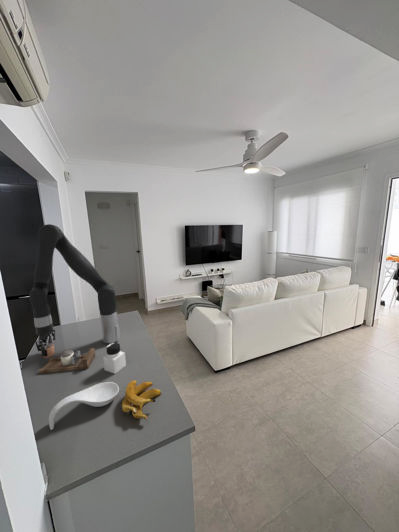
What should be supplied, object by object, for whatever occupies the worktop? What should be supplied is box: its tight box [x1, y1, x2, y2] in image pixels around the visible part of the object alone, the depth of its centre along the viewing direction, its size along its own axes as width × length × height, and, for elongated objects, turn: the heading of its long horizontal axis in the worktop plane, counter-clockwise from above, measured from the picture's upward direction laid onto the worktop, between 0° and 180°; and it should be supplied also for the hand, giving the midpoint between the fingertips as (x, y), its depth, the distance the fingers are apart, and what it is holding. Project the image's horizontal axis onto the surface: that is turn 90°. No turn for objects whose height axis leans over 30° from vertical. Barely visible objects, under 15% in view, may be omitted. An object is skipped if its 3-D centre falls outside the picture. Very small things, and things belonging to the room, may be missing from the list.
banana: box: [121, 380, 162, 421], centre depth 82 cm, size 15×19×6 cm
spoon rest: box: [48, 381, 120, 431], centre depth 80 cm, size 24×12×7 cm, turn 131°
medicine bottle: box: [102, 342, 127, 375], centre depth 103 cm, size 7×7×12 cm
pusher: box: [72, 350, 81, 366], centre depth 107 cm, size 1×7×5 cm, turn 7°
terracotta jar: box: [41, 343, 56, 359], centre depth 116 cm, size 6×6×6 cm
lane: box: [38, 347, 96, 374], centre depth 107 cm, size 22×10×5 cm, turn 97°
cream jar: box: [60, 349, 75, 367], centre depth 107 cm, size 6×6×6 cm
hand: (48, 352), depth 116 cm, fingers closed on terracotta jar, 5 cm apart
